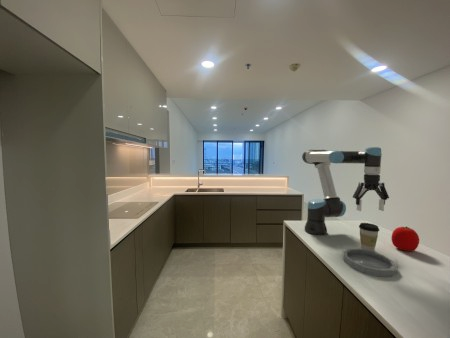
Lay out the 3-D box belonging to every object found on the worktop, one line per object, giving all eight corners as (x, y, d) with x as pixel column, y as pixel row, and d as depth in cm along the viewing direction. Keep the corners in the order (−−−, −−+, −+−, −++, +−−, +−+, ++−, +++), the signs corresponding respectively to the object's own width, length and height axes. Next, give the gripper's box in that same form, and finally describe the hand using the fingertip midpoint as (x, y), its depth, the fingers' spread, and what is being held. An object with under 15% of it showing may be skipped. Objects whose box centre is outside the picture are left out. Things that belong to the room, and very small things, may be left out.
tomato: (394, 251, 116) (395, 227, 115) (388, 243, 126) (389, 221, 125) (422, 256, 111) (424, 231, 110) (414, 247, 121) (415, 225, 120)
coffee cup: (381, 254, 111) (383, 228, 111) (362, 253, 113) (363, 227, 112) (372, 247, 121) (374, 223, 120) (354, 245, 123) (356, 221, 122)
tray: (335, 254, 112) (335, 249, 111) (371, 253, 113) (371, 248, 113) (363, 277, 90) (364, 270, 90) (408, 276, 92) (408, 269, 91)
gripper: (355, 174, 110) (354, 212, 111) (398, 174, 111) (396, 212, 113) (346, 173, 117) (345, 208, 119) (386, 173, 119) (384, 208, 120)
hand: (370, 210), depth 116 cm, fingers open, 13 cm apart
